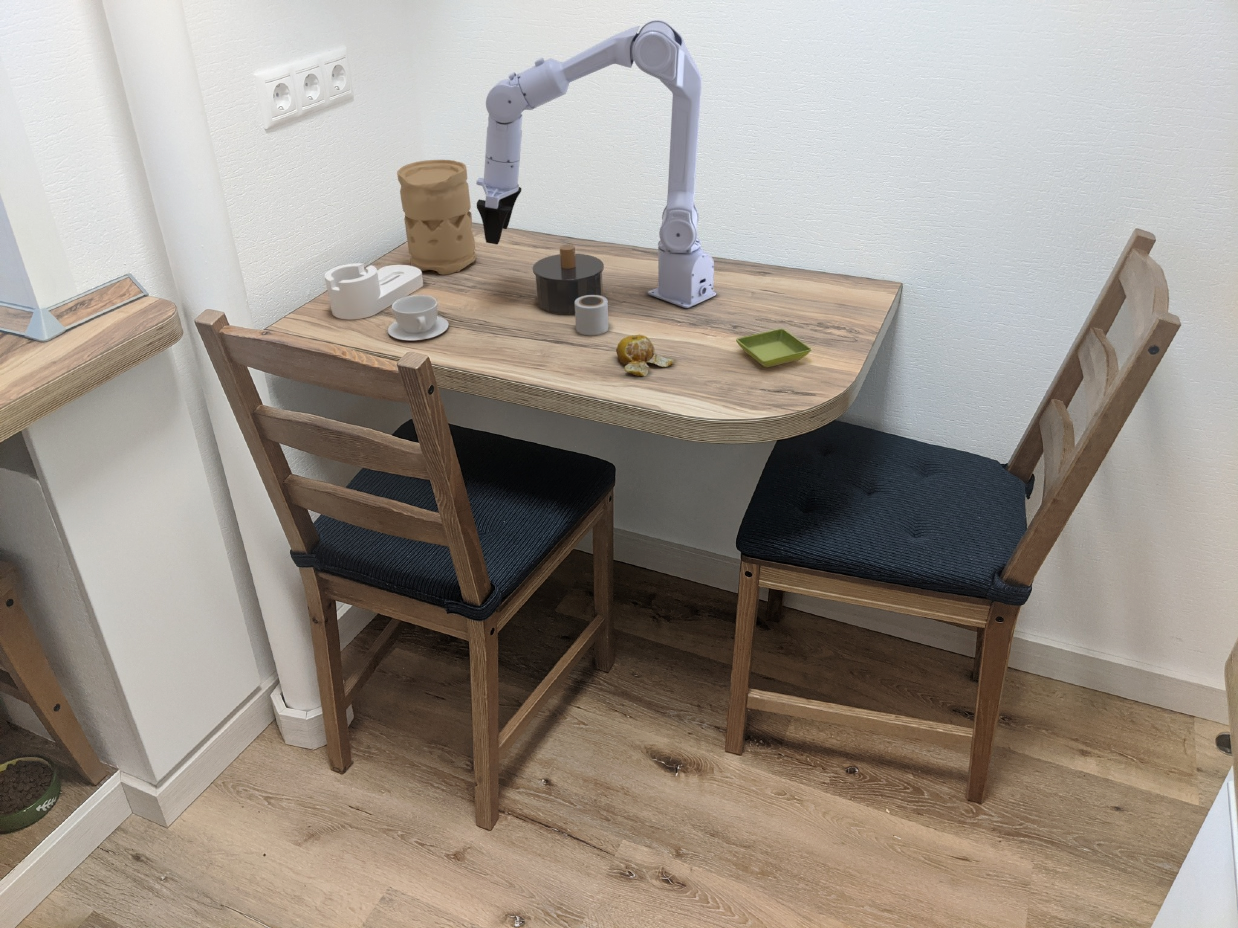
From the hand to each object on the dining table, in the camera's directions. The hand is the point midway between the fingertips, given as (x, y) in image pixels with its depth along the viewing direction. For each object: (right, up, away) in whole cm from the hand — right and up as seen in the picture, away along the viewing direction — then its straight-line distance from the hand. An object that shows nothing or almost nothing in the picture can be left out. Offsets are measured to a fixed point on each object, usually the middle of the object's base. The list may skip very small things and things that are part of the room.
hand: (496, 235), depth 166 cm
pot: (+13, -11, +1) cm, 17 cm away
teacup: (-12, -18, -7) cm, 22 cm away
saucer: (+45, -23, -18) cm, 54 cm away
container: (-13, -1, +19) cm, 23 cm away
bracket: (-22, -10, +5) cm, 25 cm away
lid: (+13, -6, -2) cm, 14 cm away
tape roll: (+17, -17, -8) cm, 26 cm away
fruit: (+25, -25, -19) cm, 40 cm away
